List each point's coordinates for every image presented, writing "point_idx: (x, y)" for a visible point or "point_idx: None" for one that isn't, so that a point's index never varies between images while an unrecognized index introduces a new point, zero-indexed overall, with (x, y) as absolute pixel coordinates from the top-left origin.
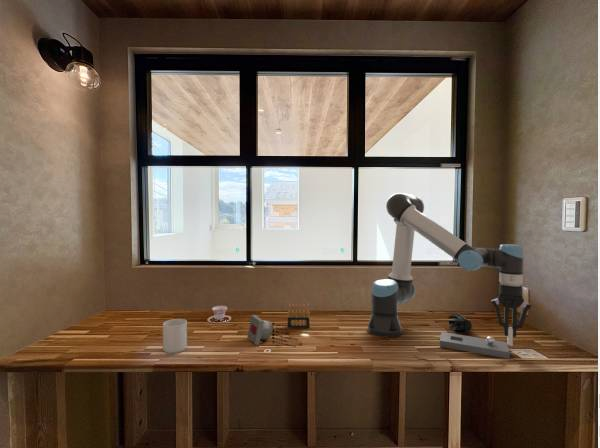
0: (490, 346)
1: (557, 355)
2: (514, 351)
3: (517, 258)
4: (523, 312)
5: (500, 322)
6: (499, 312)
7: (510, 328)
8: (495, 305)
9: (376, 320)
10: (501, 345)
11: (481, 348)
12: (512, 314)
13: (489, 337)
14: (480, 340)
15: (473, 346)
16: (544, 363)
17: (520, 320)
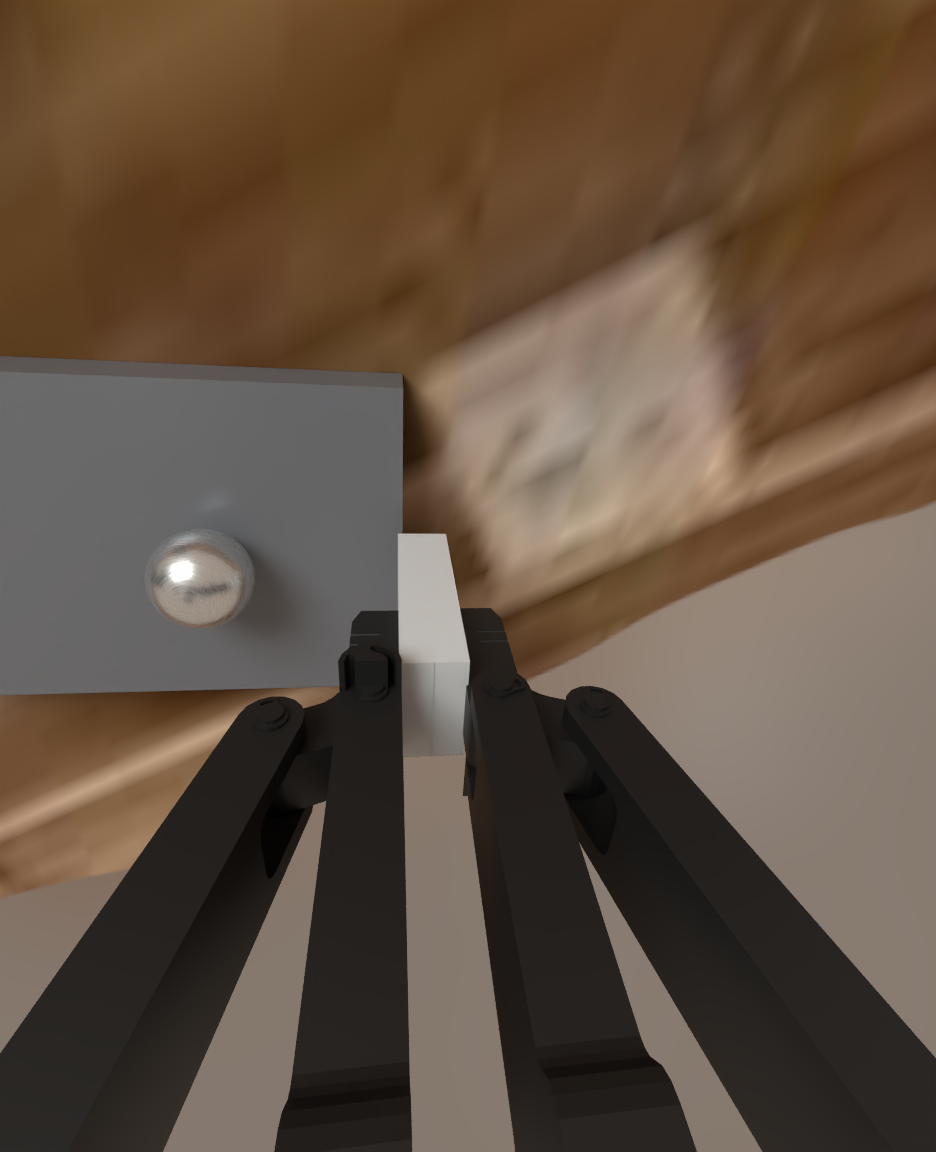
0: (226, 624)
1: (873, 352)
2: (473, 438)
3: None
4: (764, 1130)
5: (266, 832)
6: (178, 1092)
7: (433, 739)
8: None
9: None
10: (337, 541)
11: (150, 683)
12: (504, 983)
13: (181, 622)
14: (88, 481)
15: (67, 692)
16: (649, 609)
17: (616, 897)
